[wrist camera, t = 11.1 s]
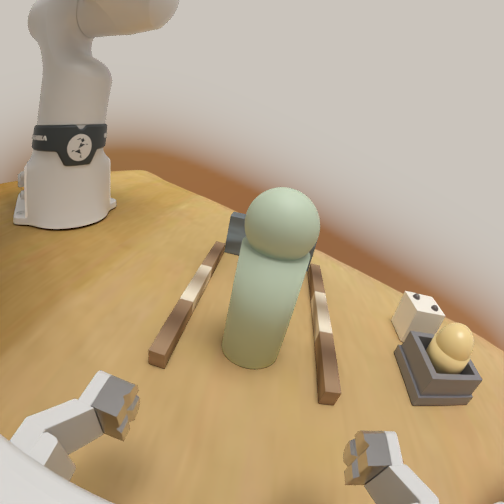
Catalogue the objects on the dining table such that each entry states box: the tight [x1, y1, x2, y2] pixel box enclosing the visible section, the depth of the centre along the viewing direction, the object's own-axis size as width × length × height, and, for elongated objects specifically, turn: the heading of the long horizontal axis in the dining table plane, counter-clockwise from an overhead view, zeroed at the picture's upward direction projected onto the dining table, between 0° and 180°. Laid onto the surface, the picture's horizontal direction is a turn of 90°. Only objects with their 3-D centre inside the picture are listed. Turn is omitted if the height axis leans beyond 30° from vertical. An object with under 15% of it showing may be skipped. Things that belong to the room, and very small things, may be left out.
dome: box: [426, 323, 474, 375], centre depth 20 cm, size 4×4×4 cm
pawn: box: [222, 187, 320, 369], centre depth 20 cm, size 5×5×13 cm
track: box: [149, 212, 341, 405], centre depth 29 cm, size 24×14×5 cm, turn 173°
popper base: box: [394, 331, 482, 405], centre depth 21 cm, size 7×7×3 cm
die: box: [391, 291, 445, 342], centre depth 28 cm, size 4×4×4 cm
